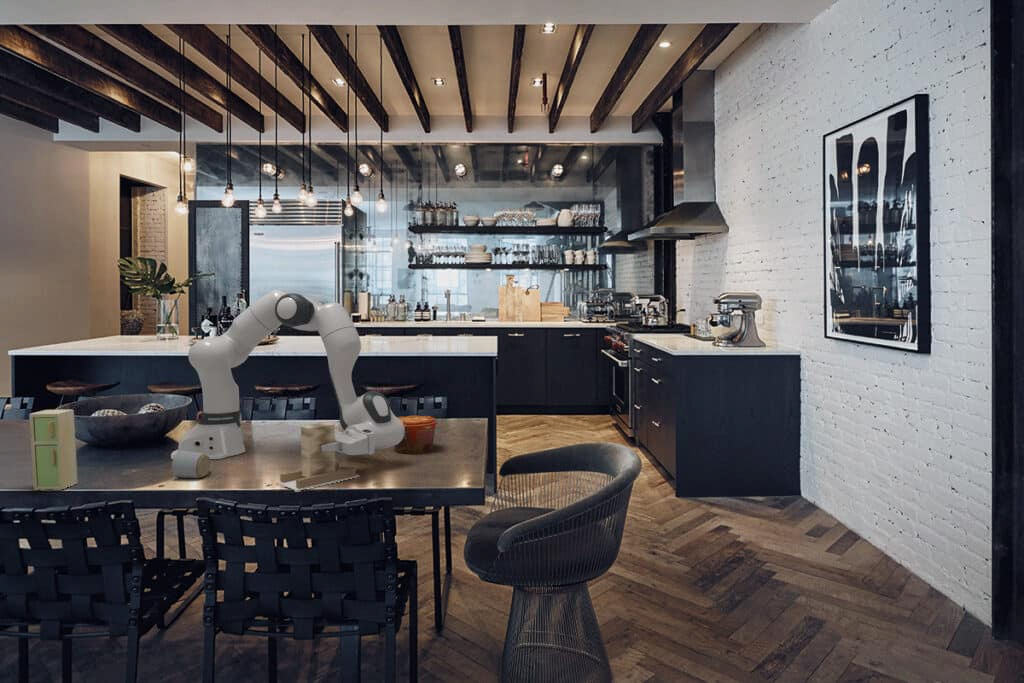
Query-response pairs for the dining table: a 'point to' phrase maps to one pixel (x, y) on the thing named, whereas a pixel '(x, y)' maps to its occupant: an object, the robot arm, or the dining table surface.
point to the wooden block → (317, 449)
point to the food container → (417, 434)
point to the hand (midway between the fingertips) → (315, 446)
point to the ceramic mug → (190, 465)
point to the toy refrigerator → (53, 449)
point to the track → (315, 478)
